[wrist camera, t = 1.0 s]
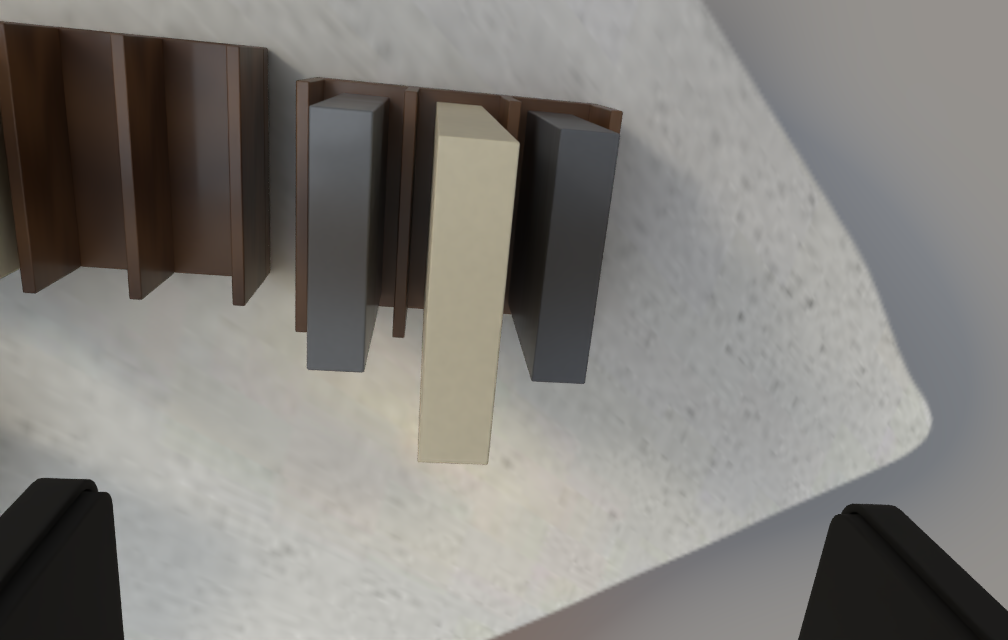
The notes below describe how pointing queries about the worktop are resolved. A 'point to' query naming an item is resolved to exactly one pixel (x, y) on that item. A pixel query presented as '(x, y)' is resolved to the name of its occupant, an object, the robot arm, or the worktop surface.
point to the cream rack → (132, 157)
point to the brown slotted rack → (405, 217)
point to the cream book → (465, 282)
